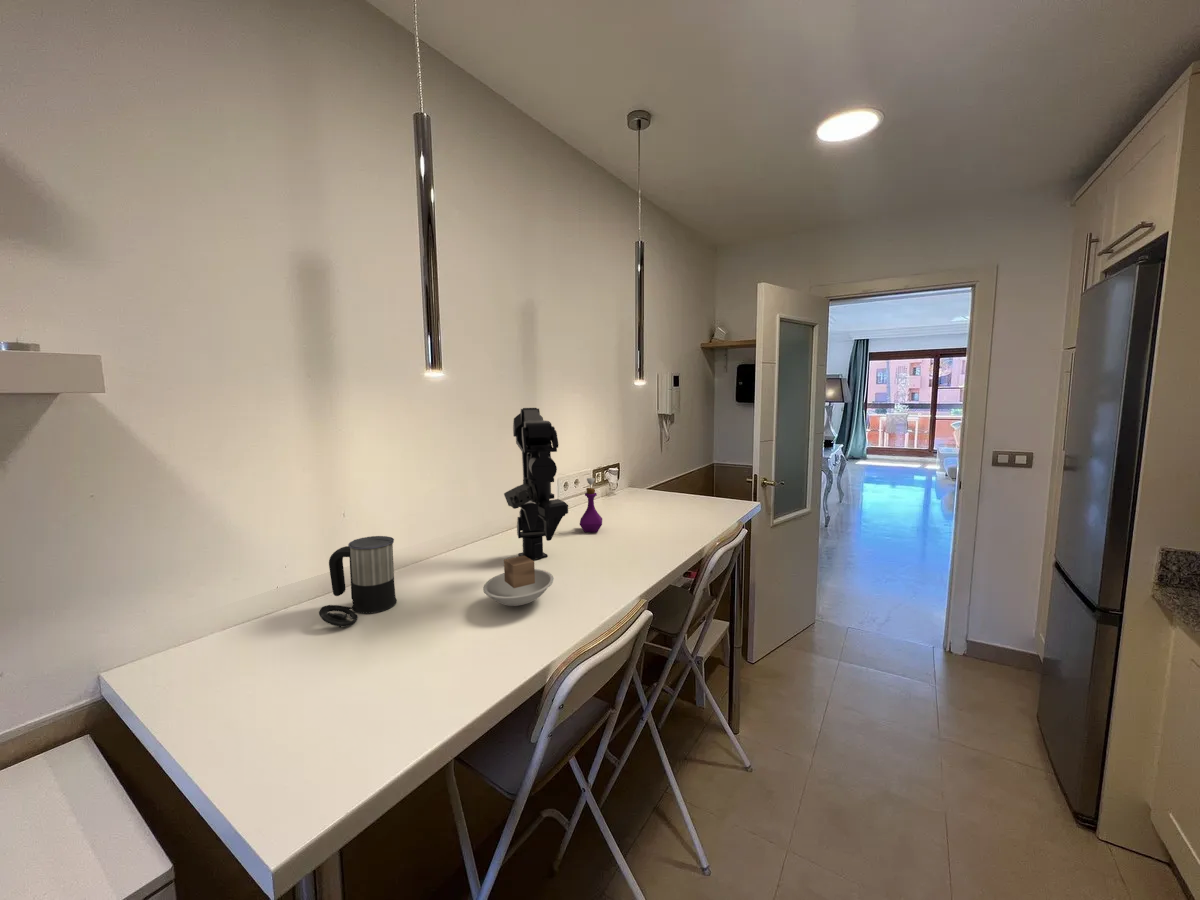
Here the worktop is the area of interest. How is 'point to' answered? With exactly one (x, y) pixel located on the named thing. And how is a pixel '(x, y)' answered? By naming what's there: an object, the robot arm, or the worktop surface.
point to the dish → (517, 589)
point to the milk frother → (362, 579)
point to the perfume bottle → (591, 512)
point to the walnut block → (519, 571)
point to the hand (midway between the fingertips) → (540, 535)
